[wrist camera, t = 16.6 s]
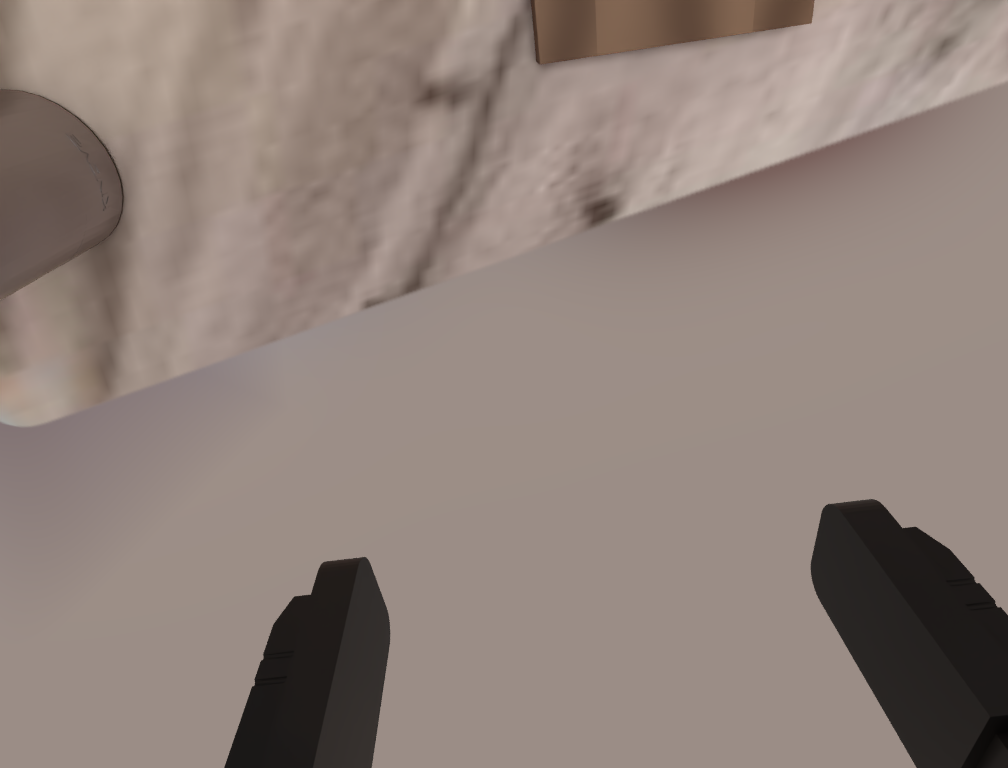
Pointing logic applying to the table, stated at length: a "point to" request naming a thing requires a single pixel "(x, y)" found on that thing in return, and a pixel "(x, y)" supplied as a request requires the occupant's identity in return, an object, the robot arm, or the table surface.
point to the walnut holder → (651, 23)
